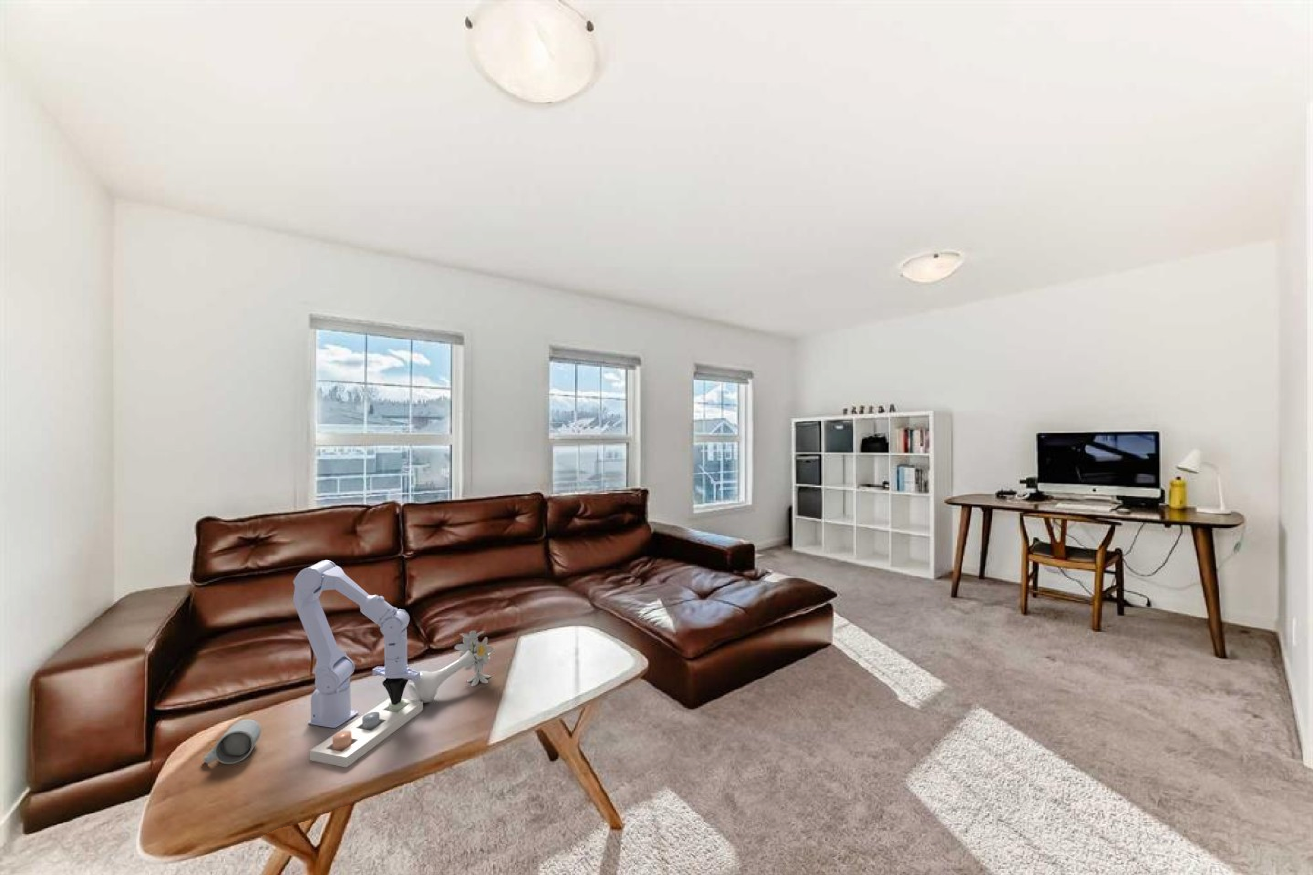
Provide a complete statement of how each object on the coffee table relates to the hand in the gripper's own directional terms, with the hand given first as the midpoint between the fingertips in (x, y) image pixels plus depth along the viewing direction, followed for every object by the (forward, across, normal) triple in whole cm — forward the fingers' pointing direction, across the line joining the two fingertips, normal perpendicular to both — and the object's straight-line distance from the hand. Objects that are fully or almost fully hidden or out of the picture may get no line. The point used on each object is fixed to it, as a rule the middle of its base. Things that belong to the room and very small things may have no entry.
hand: (396, 702), depth 144 cm
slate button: (+2, 0, +9) cm, 9 cm away
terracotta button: (+2, 0, +18) cm, 18 cm away
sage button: (+3, 0, 0) cm, 3 cm away
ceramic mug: (+4, +26, +26) cm, 37 cm away
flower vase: (+4, -7, -16) cm, 18 cm away
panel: (+3, 0, +9) cm, 10 cm away
